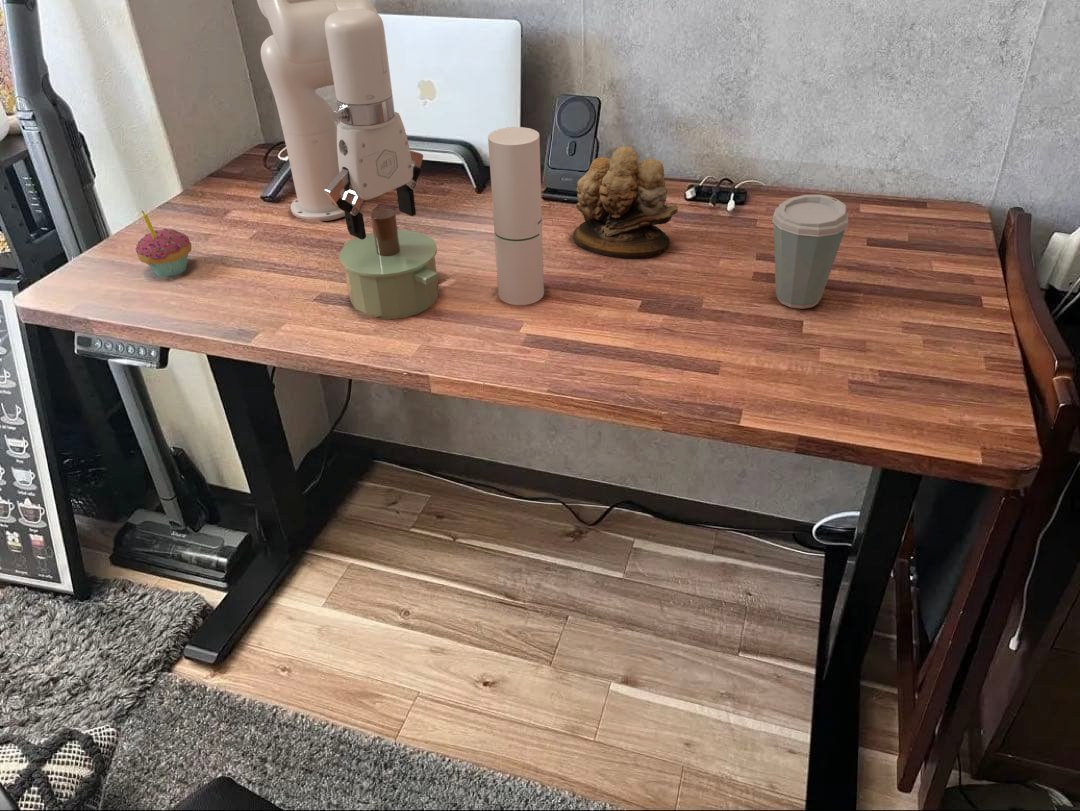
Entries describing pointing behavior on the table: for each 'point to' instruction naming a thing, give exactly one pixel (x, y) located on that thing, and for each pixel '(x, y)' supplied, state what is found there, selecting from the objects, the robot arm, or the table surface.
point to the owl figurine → (623, 206)
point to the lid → (387, 249)
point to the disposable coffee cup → (806, 247)
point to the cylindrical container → (517, 213)
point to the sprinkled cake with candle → (164, 250)
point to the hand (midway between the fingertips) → (383, 224)
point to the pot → (394, 292)
